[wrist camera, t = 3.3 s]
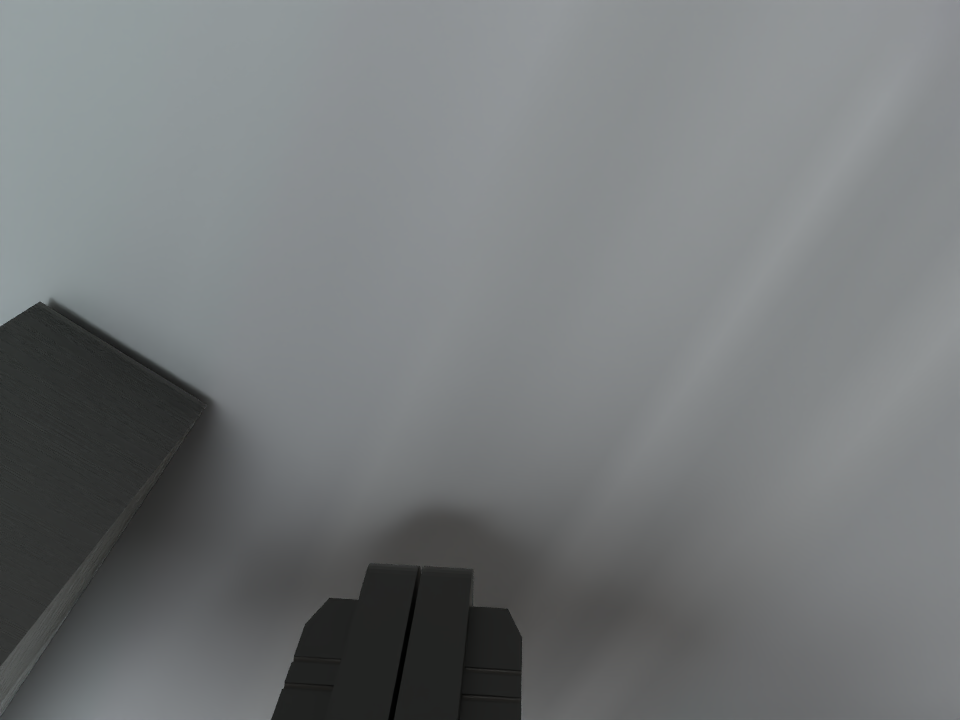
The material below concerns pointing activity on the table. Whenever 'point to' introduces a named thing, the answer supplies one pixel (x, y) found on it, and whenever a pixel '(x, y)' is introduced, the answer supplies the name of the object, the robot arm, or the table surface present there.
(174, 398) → the bar
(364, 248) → the table surface
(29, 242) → the table surface
